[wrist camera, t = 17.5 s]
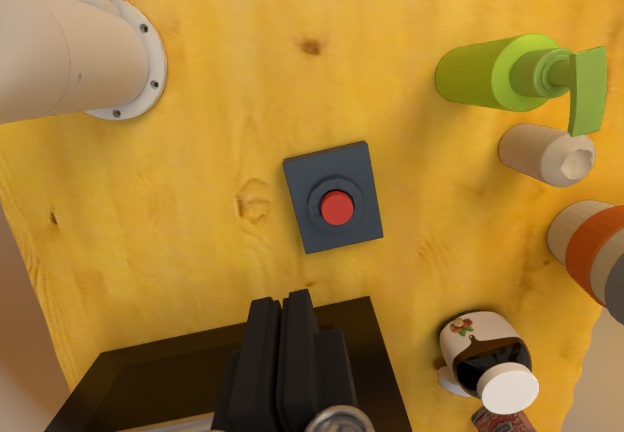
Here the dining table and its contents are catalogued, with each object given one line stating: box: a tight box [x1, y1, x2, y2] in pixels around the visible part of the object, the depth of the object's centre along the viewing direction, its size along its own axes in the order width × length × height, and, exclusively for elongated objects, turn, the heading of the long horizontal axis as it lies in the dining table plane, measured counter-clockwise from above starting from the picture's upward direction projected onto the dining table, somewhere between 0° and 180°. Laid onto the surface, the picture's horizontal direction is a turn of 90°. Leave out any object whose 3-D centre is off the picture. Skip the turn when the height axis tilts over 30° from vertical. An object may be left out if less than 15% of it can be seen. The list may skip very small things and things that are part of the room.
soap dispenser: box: [435, 34, 607, 137], centre depth 32 cm, size 6×7×20 cm
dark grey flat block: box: [283, 141, 384, 254], centre depth 44 cm, size 12×10×4 cm
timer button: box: [321, 191, 353, 225], centre depth 42 cm, size 4×4×2 cm
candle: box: [498, 124, 596, 187], centre depth 40 cm, size 6×6×10 cm
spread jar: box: [437, 310, 539, 414], centre depth 49 cm, size 12×11×12 cm
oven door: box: [44, 296, 412, 432], centre depth 40 cm, size 6×40×26 cm, turn 103°
